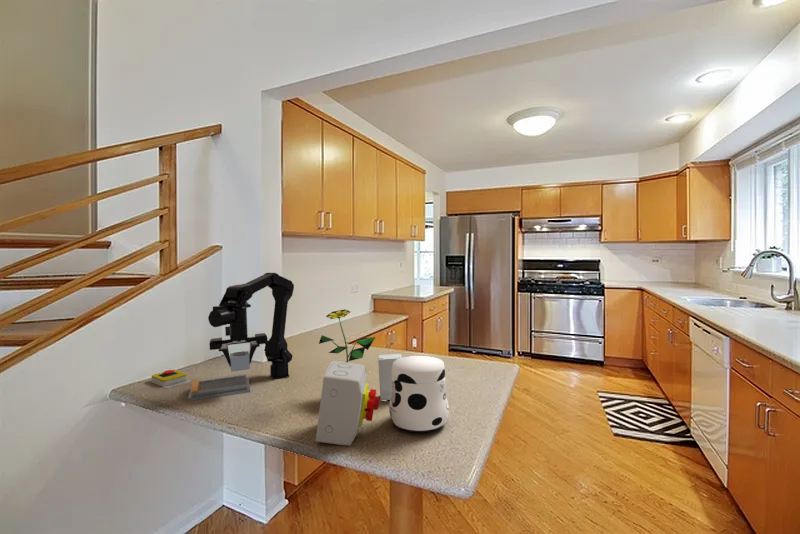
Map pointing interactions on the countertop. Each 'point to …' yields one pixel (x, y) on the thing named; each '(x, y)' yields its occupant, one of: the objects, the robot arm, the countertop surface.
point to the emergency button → (170, 378)
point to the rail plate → (219, 387)
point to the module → (239, 361)
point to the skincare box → (386, 374)
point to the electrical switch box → (344, 403)
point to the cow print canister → (418, 394)
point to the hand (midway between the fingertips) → (240, 365)
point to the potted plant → (354, 353)
